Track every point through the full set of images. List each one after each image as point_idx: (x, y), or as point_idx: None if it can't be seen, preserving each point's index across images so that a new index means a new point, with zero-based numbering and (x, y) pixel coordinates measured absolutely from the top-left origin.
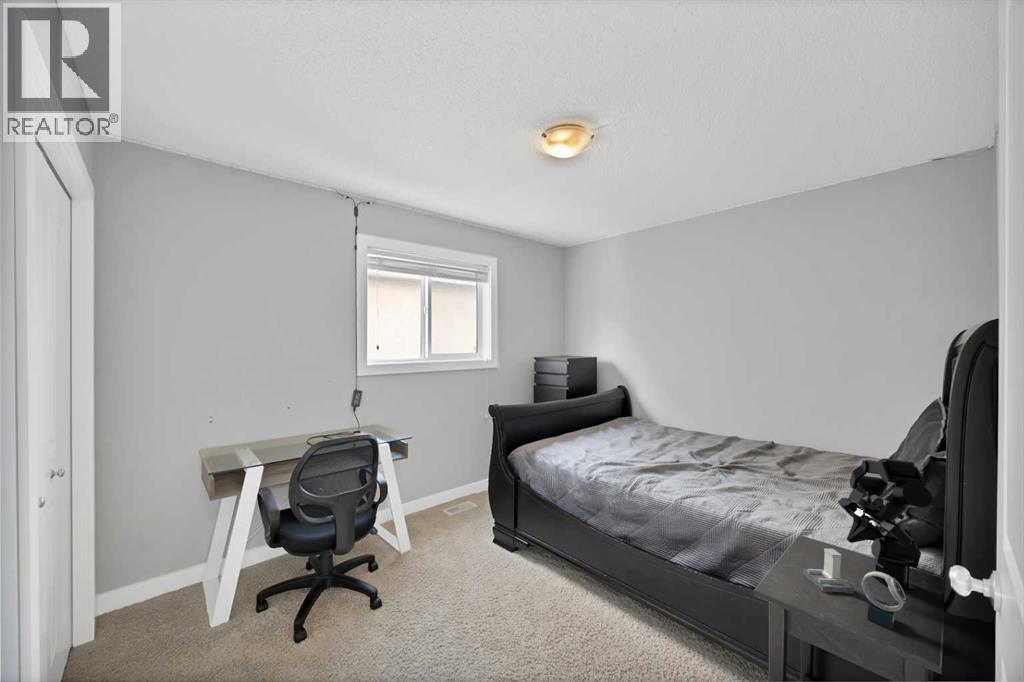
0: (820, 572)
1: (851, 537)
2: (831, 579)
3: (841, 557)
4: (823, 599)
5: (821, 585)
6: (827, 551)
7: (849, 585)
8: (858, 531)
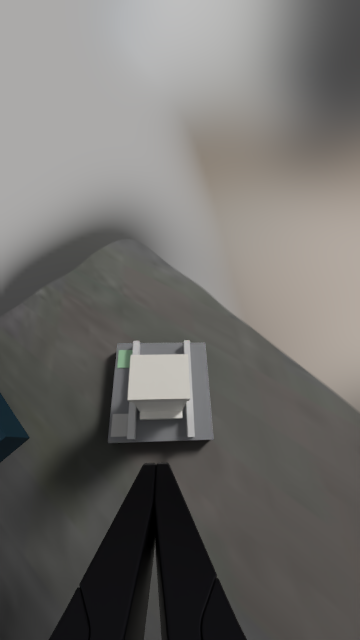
0: None
1: (134, 489)
2: None
3: (129, 401)
4: (90, 330)
5: (124, 343)
6: (165, 355)
7: (119, 434)
8: (89, 601)
